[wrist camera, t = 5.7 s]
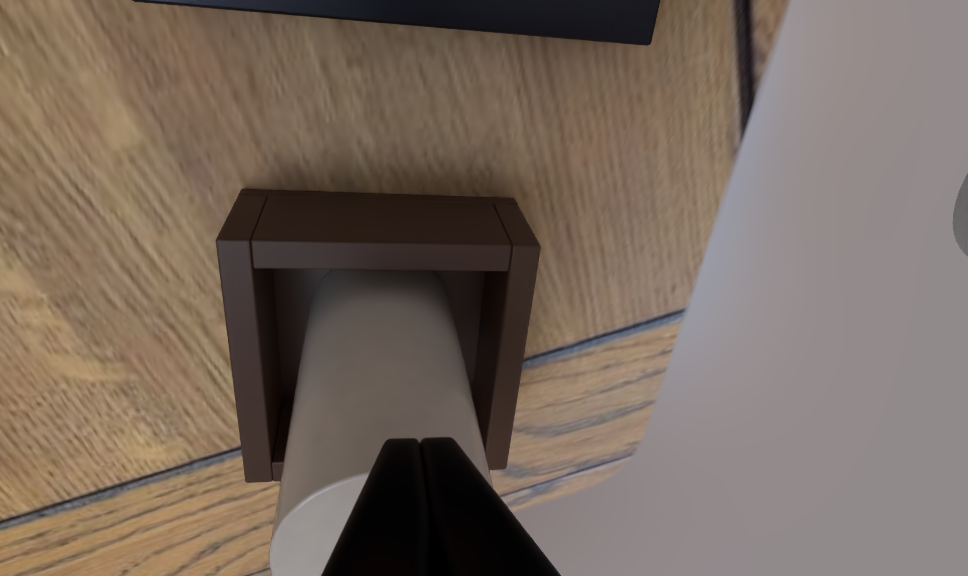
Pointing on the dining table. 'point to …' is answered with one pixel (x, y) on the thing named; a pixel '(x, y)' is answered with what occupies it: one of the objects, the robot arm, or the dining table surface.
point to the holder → (370, 246)
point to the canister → (366, 401)
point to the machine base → (475, 15)
